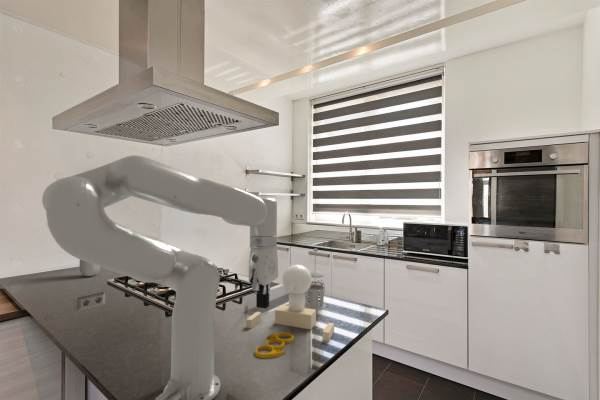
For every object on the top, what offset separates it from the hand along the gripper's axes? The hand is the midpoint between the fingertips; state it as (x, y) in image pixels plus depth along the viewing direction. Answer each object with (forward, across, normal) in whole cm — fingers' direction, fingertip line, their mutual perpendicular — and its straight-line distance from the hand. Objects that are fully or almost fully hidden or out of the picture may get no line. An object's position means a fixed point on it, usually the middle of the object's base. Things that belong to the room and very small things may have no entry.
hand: (262, 306), depth 84 cm
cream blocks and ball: (+16, +26, 0) cm, 31 cm away
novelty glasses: (+16, +10, 0) cm, 19 cm away
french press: (+16, +48, -2) cm, 51 cm away
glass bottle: (+15, +48, +134) cm, 143 cm away
